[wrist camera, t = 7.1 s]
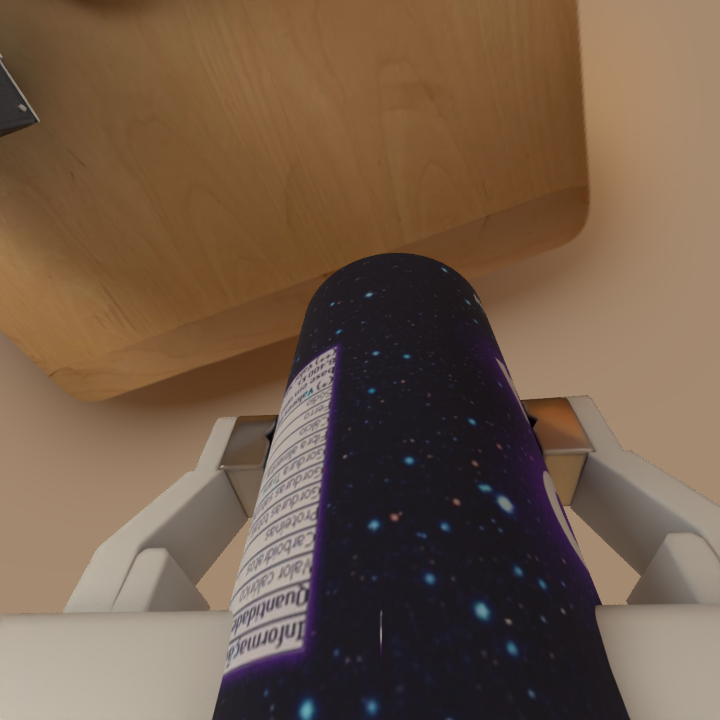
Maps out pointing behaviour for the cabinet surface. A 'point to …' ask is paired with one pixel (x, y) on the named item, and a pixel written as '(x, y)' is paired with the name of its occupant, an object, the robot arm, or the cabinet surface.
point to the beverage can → (409, 527)
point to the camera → (13, 105)
